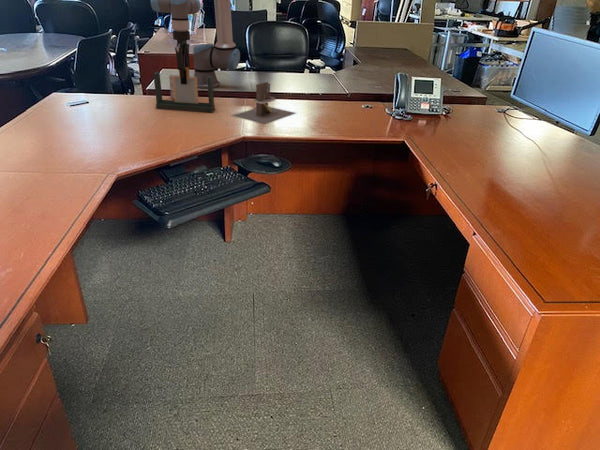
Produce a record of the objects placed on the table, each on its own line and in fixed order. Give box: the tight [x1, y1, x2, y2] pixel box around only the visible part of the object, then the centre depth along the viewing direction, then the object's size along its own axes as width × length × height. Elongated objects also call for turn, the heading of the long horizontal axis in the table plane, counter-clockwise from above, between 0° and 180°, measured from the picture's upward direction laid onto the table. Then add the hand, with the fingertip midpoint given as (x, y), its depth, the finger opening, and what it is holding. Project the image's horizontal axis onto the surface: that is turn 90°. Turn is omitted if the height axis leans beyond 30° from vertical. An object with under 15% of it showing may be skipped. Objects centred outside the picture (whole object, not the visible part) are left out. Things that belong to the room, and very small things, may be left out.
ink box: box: [168, 74, 179, 100], centre depth 233 cm, size 8×5×12 cm, turn 39°
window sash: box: [172, 66, 199, 104], centre depth 213 cm, size 3×12×17 cm, turn 84°
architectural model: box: [232, 81, 295, 125], centre depth 214 cm, size 20×25×15 cm
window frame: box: [152, 71, 216, 114], centre depth 215 cm, size 6×28×16 cm, turn 84°
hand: (185, 83), depth 213 cm, fingers closed on window sash, 3 cm apart
